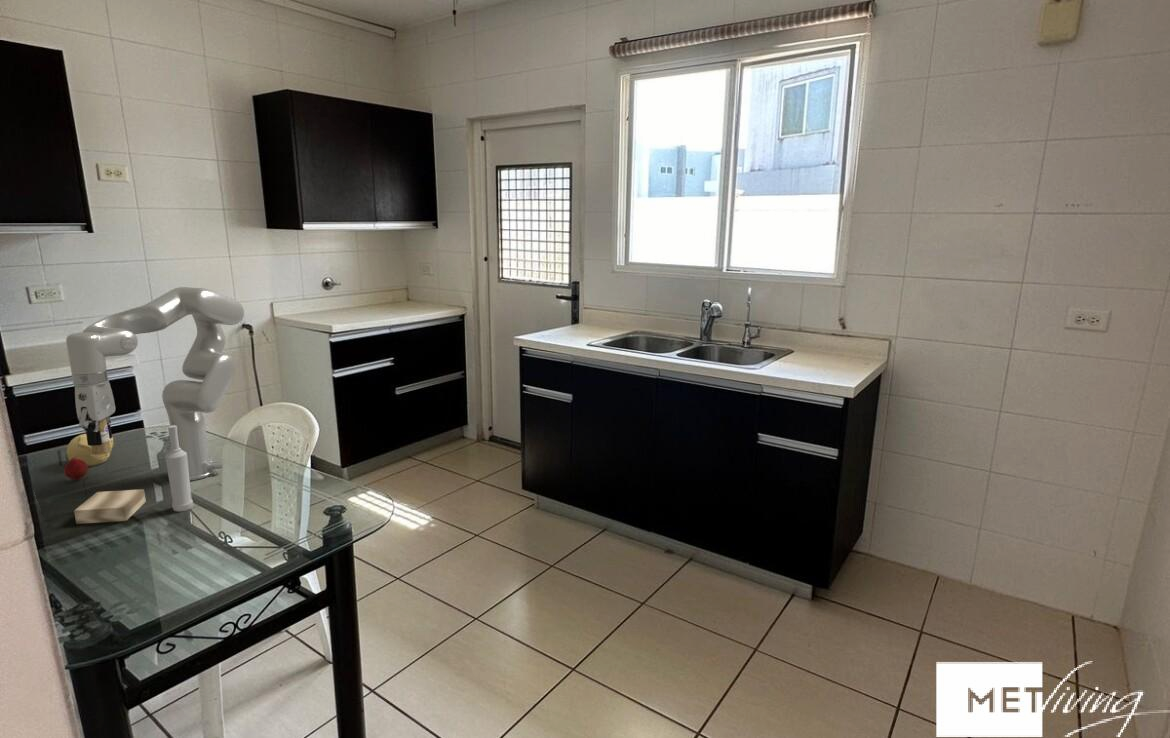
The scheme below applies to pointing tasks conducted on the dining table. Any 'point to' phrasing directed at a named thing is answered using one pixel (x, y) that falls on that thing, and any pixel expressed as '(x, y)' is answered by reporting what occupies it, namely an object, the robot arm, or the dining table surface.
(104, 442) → the sprinkles bottle
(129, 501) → the wooden base
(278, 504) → the dining table surface
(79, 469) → the red rounded lump
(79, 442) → the sculpture
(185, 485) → the bottle
